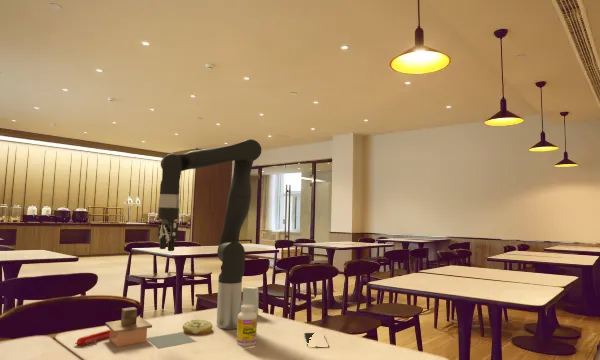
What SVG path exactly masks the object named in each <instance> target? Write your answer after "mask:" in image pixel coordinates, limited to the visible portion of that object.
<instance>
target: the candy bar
mask: <svg viewBox="0 0 600 360" xmlns="http://www.w3.org/2000/svg"><path fill="white" fill-rule="evenodd" d="M109 336H110V329H106V330H103V331H98V332H96V333H95V332H94V333H92V334H88V335H85V336H82V337H79V338H78V339H77V340H76V342H75V343H74V345H77V346H85V345H89V344H93V343H96V342H99V341H102V340H106V339H109Z"/></svg>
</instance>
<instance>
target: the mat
mask: <svg viewBox="0 0 600 360" xmlns="http://www.w3.org/2000/svg"><path fill="white" fill-rule="evenodd" d="M146 341H148V342H149V343H151V344H152V345H153V346H154V347H155V348H157V349H158V350H160V349H165V348H170V347H176V346H182V345H186V344H192V343H197V341H196V340H195V339H194V338H192V337H190V336H188V334H186V333H185V332H182V331H180V332H173V333H169V334H168V333H167V334H163V335H157V336H152V337H151V336H150V337H147V339H146Z"/></svg>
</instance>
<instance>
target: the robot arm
mask: <svg viewBox="0 0 600 360" xmlns="http://www.w3.org/2000/svg"><path fill="white" fill-rule="evenodd" d="M261 154H262V147H261V144H260V142H259V141H257V140H256V139H251V138H249V139H245V140H243V141H240V142H237V143H234V144H230V145H225V146H220V147H212V148H204V149H197V150H191V151H188V152H185V153H179V154H176V153H168V154H166V155H165V156H164V157H163V158H161V161H160V167H161V169H162V171H161V181H160V184H159V185H160V186H159V198H158V207H157V219H158V220H162V221H158V224H157V225H158V226H157V227H158V228H157V237H158V238H159V249H160V250H166V249H167V251H168V252H174V251H175V243H176V240H178V238H179V234H178V233H179V223H178V222H175V220H179V217H180V216H179V215H180V203H181V202H180V182H181V181H180V179H181V174H182V172H183V171H187V170H195V169H202V168H207V167H213V166H215V165H216V166H217V165H219V164H223V163H228V162H233V161H234V165H233V174H232V178H231V181H230V187H229V192H228V197H227V203H226V210H225V215H224V221H223V228H222V234H221V236H220V240H219V244H218V246H217V257H218V259H219V260H220V262H222V263H221V271H220V273H219V274H218V279H217V280H218V283H217V285H218V286H217V303H216V304H217V309H216V327H217V328H220V329H222V330H234V329H237V321H238V314H239V313H240V312H241V305H243V300H242V294H243V288H242V287H243V276H244V273H245V262H246V251H245V247H244V246H243V244H241V243H240V235H241V234H240V233H241V230H242V227H243V224H244V223H245V220H246V218H247V216H248V214H249V210H250V205H251V202H252V185H251V184H252V183H251V173H252V168H253V165H254V161H256V160H257V159H258V158H260V156H261Z"/></svg>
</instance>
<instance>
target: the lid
mask: <svg viewBox="0 0 600 360" xmlns="http://www.w3.org/2000/svg"><path fill="white" fill-rule="evenodd" d="M137 314H138V308H136V307H135V306H134V307H133V306H132V307H131V306H130V307H125V308H121V317H120V319H121V320H120V319H119V320H115V321H113V320H112V321H106V322H105V326H106V328H108V330H111V331H112V332H113V333H120V332H127V331H133V330H140V329H146V328H147V329H151V328H153V324H152V323H150V322H148V321H147V320H146V319H144V318H143V317H138V315H137Z"/></svg>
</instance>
